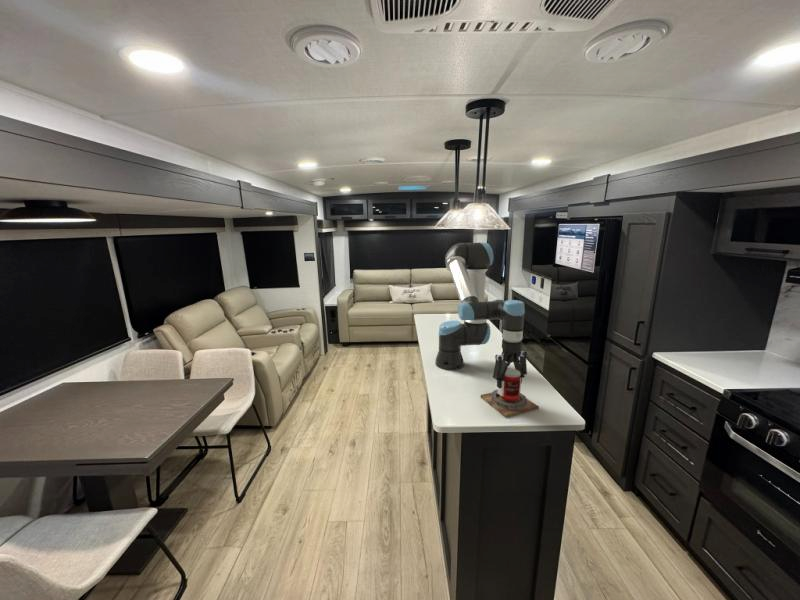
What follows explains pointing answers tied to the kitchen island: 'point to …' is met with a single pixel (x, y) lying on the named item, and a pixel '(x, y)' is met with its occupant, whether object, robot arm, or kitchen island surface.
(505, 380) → the canned food
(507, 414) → the socket board
